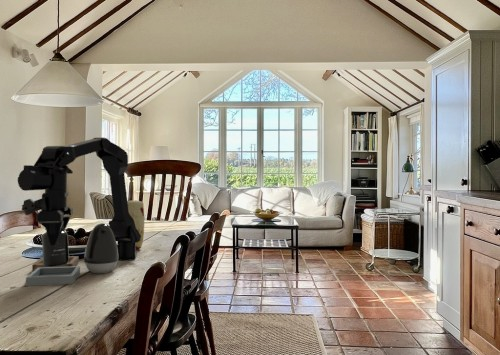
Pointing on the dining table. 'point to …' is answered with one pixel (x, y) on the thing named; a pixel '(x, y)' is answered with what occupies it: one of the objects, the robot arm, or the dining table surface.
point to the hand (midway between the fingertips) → (55, 243)
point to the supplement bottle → (55, 249)
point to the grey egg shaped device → (101, 250)
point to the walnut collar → (72, 262)
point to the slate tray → (53, 275)
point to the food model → (137, 218)
